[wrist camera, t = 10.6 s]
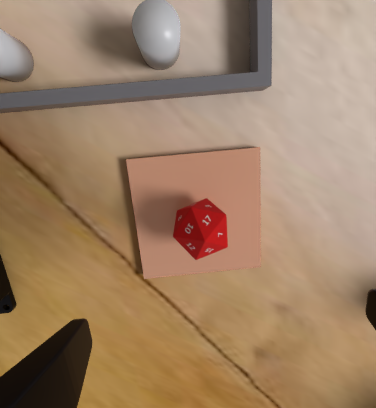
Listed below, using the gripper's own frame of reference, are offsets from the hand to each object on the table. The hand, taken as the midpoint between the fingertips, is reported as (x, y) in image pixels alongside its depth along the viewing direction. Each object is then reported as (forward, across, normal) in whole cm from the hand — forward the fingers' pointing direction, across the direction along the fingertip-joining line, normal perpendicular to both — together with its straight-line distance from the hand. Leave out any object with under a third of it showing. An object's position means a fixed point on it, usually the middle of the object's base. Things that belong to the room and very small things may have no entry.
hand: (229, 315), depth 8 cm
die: (+10, 0, 0) cm, 10 cm away
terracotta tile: (+11, 0, 0) cm, 11 cm away
